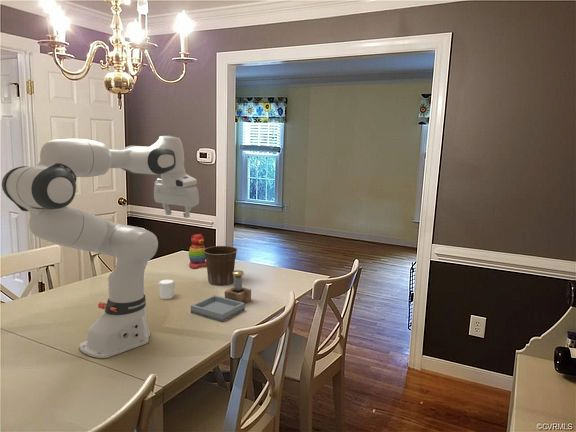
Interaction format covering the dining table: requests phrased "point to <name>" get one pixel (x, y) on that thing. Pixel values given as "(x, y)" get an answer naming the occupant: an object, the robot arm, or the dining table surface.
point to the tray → (217, 308)
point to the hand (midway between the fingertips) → (177, 215)
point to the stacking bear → (197, 252)
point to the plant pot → (220, 264)
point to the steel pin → (238, 280)
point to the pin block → (239, 295)
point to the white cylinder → (166, 288)
